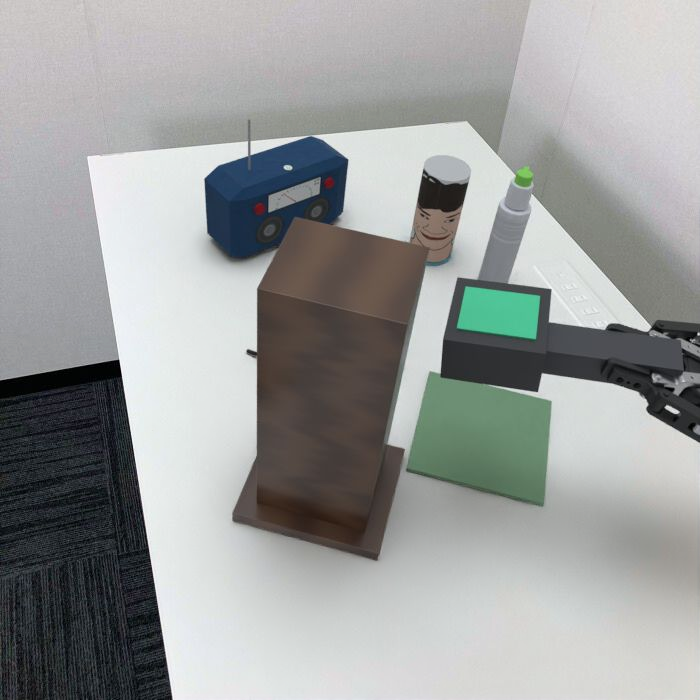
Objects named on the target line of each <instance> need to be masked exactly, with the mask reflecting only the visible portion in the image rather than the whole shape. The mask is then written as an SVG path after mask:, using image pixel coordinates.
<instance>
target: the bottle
mask: <svg viewBox="0 0 700 700" xmlns="http://www.w3.org/2000/svg"><path fill="white" fill-rule="evenodd" d="M533 179H534V173H533V172H532V171H531V170H530V166H527V165H524V166H523V168H521V169H518V170H517V171H516V174H515V176H514V177H512V179H510V183H509V184H508V185H509V186H508V188H507V190H506V194H505V197H504V196H503V198H501V199H500V200H499V202H498V206H497V209H496V213H495V216H494V220H493V222H492V227H491V231H490V233H489V234H490V235H489V237H488V240H487V245H486V248H485V252H484V255H483V259H482V262H481V266H480V269H479V273H478V277H477V280H484V281H492V282H499V283H507V284H509V281H510V277H511V274H512V272H513V269H514V266H515V262H516V259H517V256H518V254H519V250H520V247H521V245H522V241H523V238H524V234H525V231H526V228H527V225H528V223H529V219H530V216H531V213H532V205H531V204H530V201H531V199H532V198H531V197H532V194H533V191H534V190H533V189H534V182H533Z"/></svg>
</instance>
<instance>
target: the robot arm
mask: <svg viewBox="0 0 700 700" xmlns="http://www.w3.org/2000/svg"><path fill="white" fill-rule="evenodd" d="M604 330H610V331H618V332H625V333H633V334H640V335H648V336H655V337H662V338H670V339H677V340H681V346H682V356H683V366H684V372H683V374H679V375H676V376H672V375H669V374H666V373H659V372H654V373H652V375H651V374H650V369H648V368H644V367H641V366H638V365H635V364H632V363H629V362H626V361H623V360H620V359H617V358H609V359H607V361H606V362H605V364H604V365H603V367H602V368H601V377H602V378H603V379H606V380H607V381H609V382H610V383H609V384H611V383H612V384H611V385H615V386H619V387H621V388H625V389H628V390H631V391H634V392H637V393H638V394H639V396H640V397H641V398H642V399H644V400H646V402H647V404H648V405H646V407H645V410H646V412H647V414H649V415H650V416H651V417H653V418H655V419H657V420H658V421H660V422H662V423H664V424H665V425H667V426H669V427H671V428H672V429H674V430H676V431H678V432H679V433H681V434H683V435H685V436H686V437H688V438H690V439H692V440H694V441H695V442H696V443H698V444H700V323H696V322H685V321H676V320H675V321H674V320H664V319H657V320H655V321H654V323H653V324H652V326H651V327H650V328H649V330H648V331H644V330H640V329H638V328H634V327H632V326H628V325H625V324H622V323H615V322H611V323H608V324H607V325H606V327H605V328H604ZM664 333H665V334H664ZM665 387H667V388H666V389H665ZM667 406H668V407H671V408H672V409H675V410H676V411H678V413H674V412H672V411H670V410H669V409H667V408H666V407H667Z"/></svg>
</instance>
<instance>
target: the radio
mask: <svg viewBox="0 0 700 700" xmlns="http://www.w3.org/2000/svg"><path fill="white" fill-rule="evenodd" d="M251 138H252V137H251V118H248V119H247V156H243V157H241V158H237V159H234V160H231V161H228V162H225V163H222V164H219V165H217V166H216V167H215V168H214V169H213V170H212V171H211V172H210V173H209V174H207V175H206V176H205V177H204V179H203V182H204V199H205V213H206V214H205V219H206V233H207V234H208V236H209V237H211V239H212V240H214V241H215V243H216V244H218V246H219V247H220V248H222V249H223V250H224V251H225V252H226V253H227V255H228V256H229V257H232V258H239V259H246V258H249V257H251V256H253V255H256V254H258V253H261V252H264V251H266V250H268V249H271V248H274V247H276V246H280V244H281V242H282V240H283V238H284V237H285V235H286V233H287V231H288V229H289V227H290V225H291V223H292V221H293V219H294V218H295V217H298V218H302V219H307V220H311V221H316V222H320V223H324V224H329V225H332V223H333V222H334V221H336V219H337V218H339V217H340V216H341V215H342V214H343V213H344V209H345V208H344V207H345V199H346V198H345V197H346V186H347V177H348V168H349V159H348V157H346V156H345V155H343V154H342V153H341V152H340V151H338V150H337V149H336V148H334V147H333V146H331V145H330V144H329V143H327V142H326V141H324V139H322V138H319V137H315V136H313V135H309V136H306V137H303V138H300V139H298V140H294V141H291V142H287V143H284V144H280V145H278V146H275V147H271V148H269V149H266V150H263V151H259V152H256V153H253V154H252V153H251V152H252V151H251V147H252V146H251V140H252V139H251Z"/></svg>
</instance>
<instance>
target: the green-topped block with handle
mask: <svg viewBox="0 0 700 700" xmlns="http://www.w3.org/2000/svg"><path fill="white" fill-rule="evenodd" d="M551 302H552V288H548V287H538V286H531V285H530V286H528V285H523V284H515V283H508V284H507V283H499V282H492V281H484V280H478V279H476V278H469V277H468V278H467V277H460V276H457V277H456V282H455V285H454V289H453V294H452V298H451V303H450V307H449V311H448V316H447V319H446V320H447V321H446V325H445V329H444V333H443V337H442V350H441V361H440V362H441V363H440V377H441V378H447V379H453V380H460V381H466V382H473V383H479V384H484V385H489V386H493V387H498V388H506V389H512V390H520V391H526V392H533V393H539V390H540V386H541V385H540V384H541V380H542V375H543V374H544V375H550V376H557V377H563V378H571V379H577V380H585V381H592V382H597V383H603V384H611V385H613V384H612V383H610V382H609V381H607V380H606V379H603V378H602V377H601V368H602V367H603V365H604V364H605V362H606V361H607V359H609V358H617V359H620V360H623V361H626V362H629V363H632V364H635V365H638V366H641V367H644V368H648V369H650V374H651V375H652V373H654V372H659V373H666V374H669V375H672V376H676V375H679V374H683V372H684V366H683V356H682V355H683V353H682V346H681V340H677V339H670V338H662V337H655V336H648V335H640V334H633V333H625V332H618V331H610V330H605V329H604V328H603V329H601V328H595V327H587V326H579V325H571V324H566V323H559V322H551V321H550V315H551V314H550V313H551ZM666 388H667V387H665V389H666Z"/></svg>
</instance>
